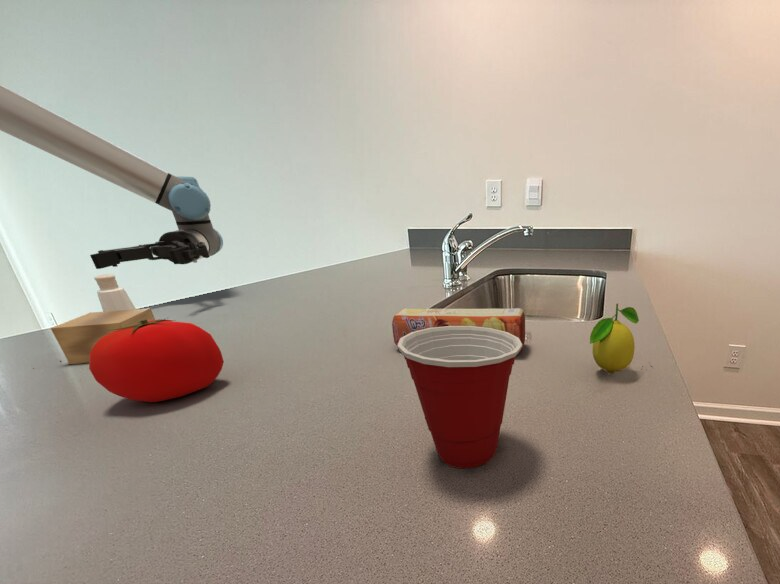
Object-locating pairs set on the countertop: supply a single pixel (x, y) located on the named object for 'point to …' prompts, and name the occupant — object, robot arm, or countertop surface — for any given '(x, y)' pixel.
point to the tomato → (156, 360)
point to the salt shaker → (112, 294)
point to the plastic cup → (462, 387)
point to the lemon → (614, 341)
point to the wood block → (94, 331)
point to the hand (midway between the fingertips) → (135, 259)
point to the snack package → (459, 320)
